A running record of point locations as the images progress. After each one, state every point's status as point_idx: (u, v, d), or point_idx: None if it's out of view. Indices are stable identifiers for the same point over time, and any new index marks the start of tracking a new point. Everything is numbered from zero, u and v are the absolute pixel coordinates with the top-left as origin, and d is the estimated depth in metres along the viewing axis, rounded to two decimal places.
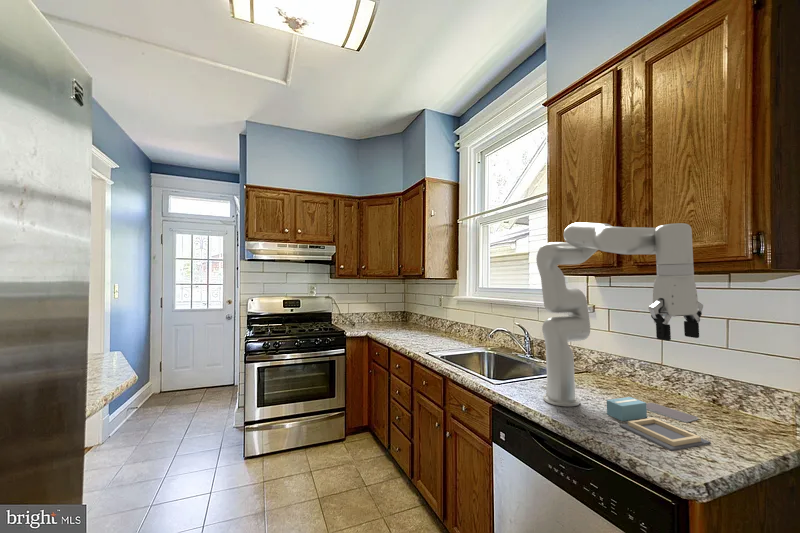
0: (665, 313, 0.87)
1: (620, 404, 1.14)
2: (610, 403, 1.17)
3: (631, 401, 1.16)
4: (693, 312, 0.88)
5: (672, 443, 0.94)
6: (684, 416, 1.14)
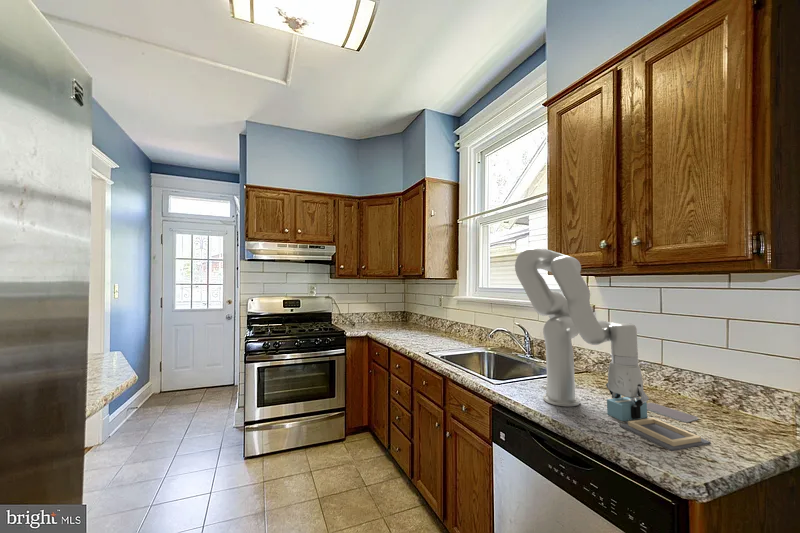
0: (637, 397, 1.13)
1: (620, 403, 1.14)
2: (610, 402, 1.17)
3: None
4: None
5: (672, 443, 0.94)
6: (684, 416, 1.14)
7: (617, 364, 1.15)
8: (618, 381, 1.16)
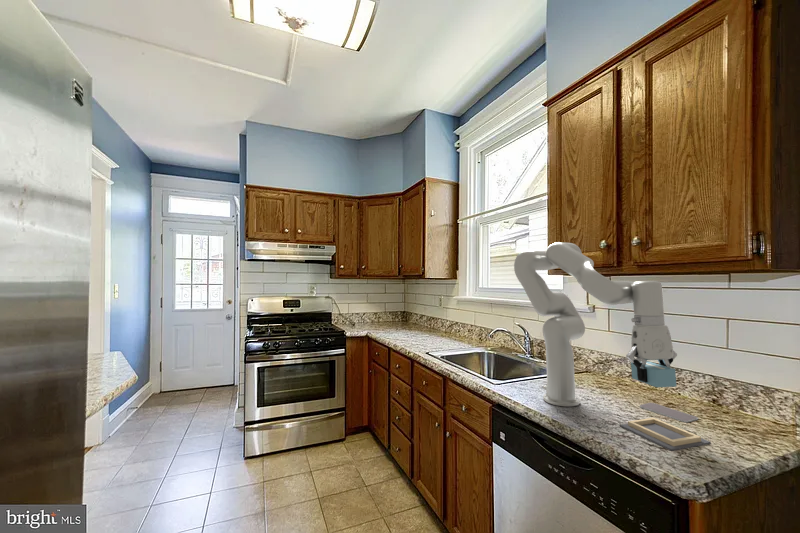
0: None
1: (668, 368, 1.02)
2: (660, 372, 1.01)
3: (648, 364, 1.08)
4: None
5: (672, 443, 0.94)
6: (684, 416, 1.14)
7: (660, 325, 1.03)
8: (657, 345, 1.03)
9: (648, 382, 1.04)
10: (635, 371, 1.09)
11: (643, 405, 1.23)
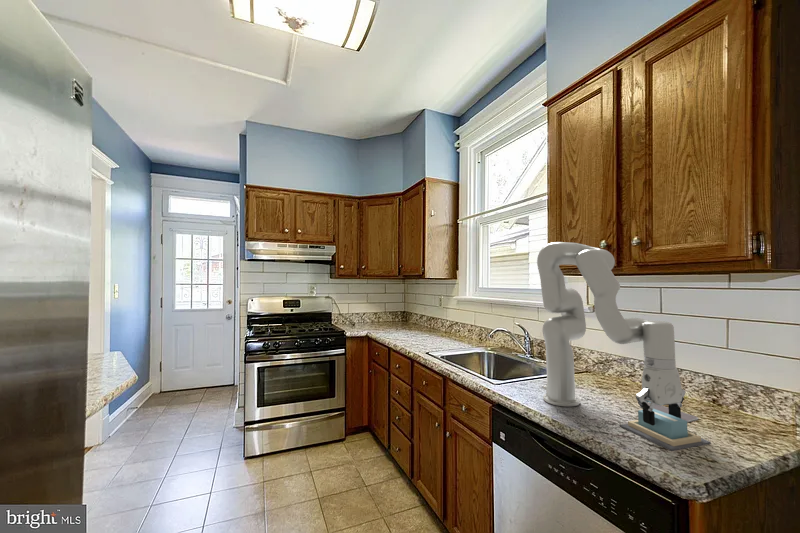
0: None
1: (680, 420, 0.99)
2: (675, 425, 0.97)
3: (656, 413, 1.04)
4: None
5: (672, 443, 0.94)
6: (684, 416, 1.14)
7: (673, 369, 0.99)
8: (669, 389, 1.00)
9: None
10: None
11: None
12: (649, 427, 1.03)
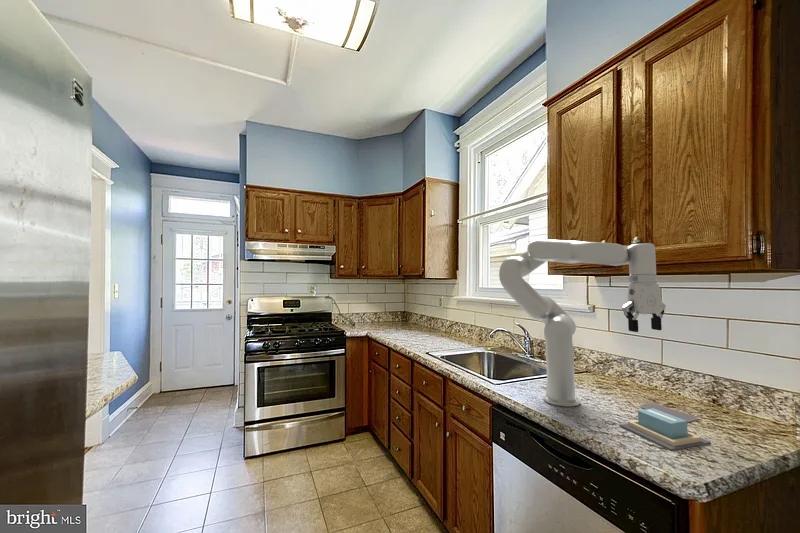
0: None
1: (680, 420, 0.99)
2: (675, 425, 0.97)
3: (656, 413, 1.04)
4: None
5: (672, 443, 0.94)
6: (684, 416, 1.14)
7: (654, 282, 1.14)
8: (651, 300, 1.14)
9: None
10: (643, 420, 1.05)
11: (643, 405, 1.23)
12: (649, 427, 1.03)
